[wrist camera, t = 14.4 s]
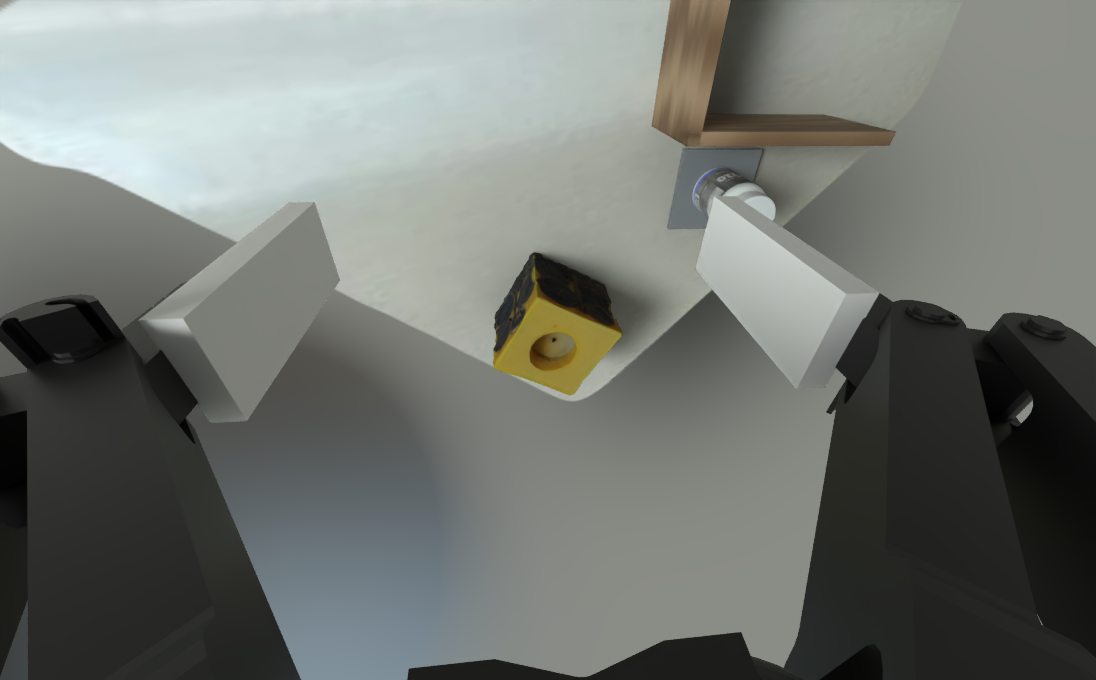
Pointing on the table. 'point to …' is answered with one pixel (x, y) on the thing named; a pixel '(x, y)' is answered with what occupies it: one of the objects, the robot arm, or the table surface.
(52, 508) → the robot arm
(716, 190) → the pill bottle
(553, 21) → the table surface
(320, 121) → the table surface
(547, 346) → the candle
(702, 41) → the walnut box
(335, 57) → the table surface
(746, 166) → the slate coaster
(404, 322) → the table surface
